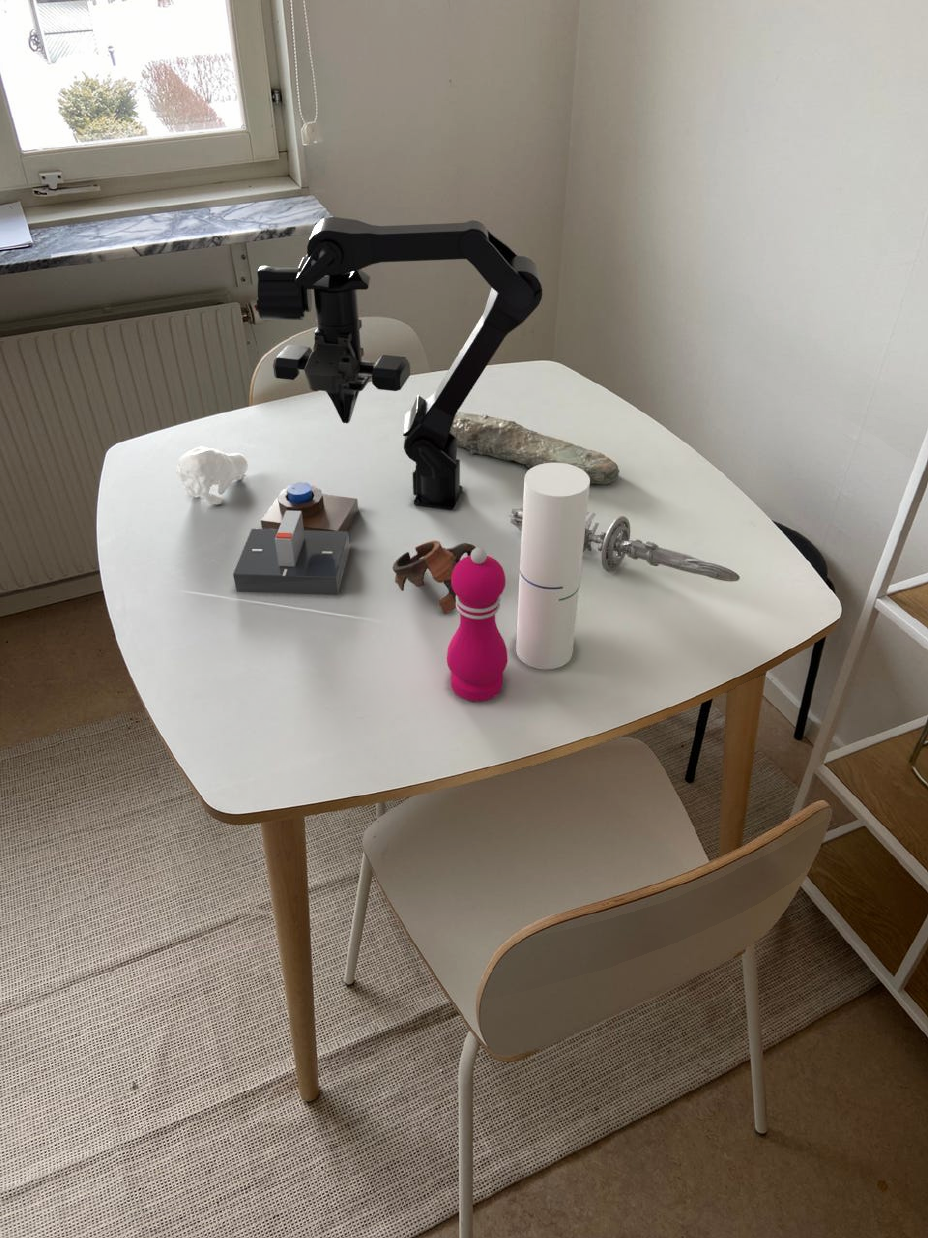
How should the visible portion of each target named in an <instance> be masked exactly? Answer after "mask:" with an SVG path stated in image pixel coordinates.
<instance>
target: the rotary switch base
mask: <svg viewBox="0 0 928 1238" xmlns="http://www.w3.org/2000/svg"><path fill="white" fill-rule="evenodd" d="M278 530H279V529H262V528H251V530H250V532H249V533H248V537H247V540H246V542H245V544H244V547H243V548H242V551H241V554H240V556H239V558H238V561H237V563H236V565H235V568H234V571H233V573H232V576H233V581H234V587H235V591H236V592H241V593H242V592H243V593H246V592H249V593H271V594H273V593H275V594H299V595H300V594H301V595H307V594H308V595H333V596H338V595H339V592H340V589H341V584H342V580H343V576H344V572H345V570H346V565H347V561H348V557H349V553H350V549H351V547H350V546H351V545H350V536H349V534H350V533H349V531H346V532H344V531H313V530H304V534H305V539H304V542H303V545H302V548H301V550H300V553H299V556H298V559H297V562H296V565H295V567H289V566H279V562H278V556H277V549H276V543H275V538H276V535H277V532H278Z"/></svg>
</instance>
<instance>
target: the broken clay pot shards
mask: <svg viewBox="0 0 928 1238" xmlns="http://www.w3.org/2000/svg"><path fill="white" fill-rule="evenodd" d="M475 548H477V547H476V546H475V545H473V544H472V543H468V542H462V543H459V544H456V545H455V546H454V547H450V548H445V547H443V546H442V544H441V542H440V541H439V540H431V541H427V542H424V543H421V544H419V545H417V546H416V547H414V549H415V552H416V554H414V555H413V556H412V557H411V555H410V552H408V551H407V552H405V553H403V554H402V555H401V556H399V558H397V559H396V561H395V562H393V564H392V570H393V572H394V573H395V577H394V582H395V584H397V585H398V588H399V589H400V591H402V592H403V591H405V584H406V581H408V582H409V583H411V584H413V585H414V586H415V587H420V588H421V587H422V588H423V587H424V586H425V581H424V579H425V576H426V575H425V574H426V572H427V570H428V571H429V573H430V574H431V577H432V579H433V580H434V581H435V582H436V583H439V584H444V586H445V587H446V588H447V590H448V593H447V594H445V595H444V596H443V597H441V598H439V599H438V600H437V604H438V605H439V607H440V609H441V610H442V613H443V614H445V615H446V614H448V613H450V612H451V611H453V610H455V609H457V608H456V594H455V593H454V590H453V588H452V584H451V577H452V572H453V570H454V568H455V566H456V564H457V563H458V562H459V561H460V560H462V557H463V556H464V554H467V556H470V555H471V552H472V550H474V549H475Z"/></svg>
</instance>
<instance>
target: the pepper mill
mask: <svg viewBox="0 0 928 1238" xmlns="http://www.w3.org/2000/svg"><path fill="white" fill-rule="evenodd" d="M451 584H452V588H453V590H454V593H455V594H456V608H455V609H456V610H457V612H458V613H459V616H460V617H459V620H460V621H459V625H458V627H457V629H456V631H455V633H454V634H453V635H452V637H451V639H450V641H449V644H448V647H447V651H446V652H447V653H446V664H447V667H448V669H449V670H450V686H451V689H452V691H453V692H454V694H456V695H457V696H458V697H459V698H461V699H463V700H466V701H469V702H478V703H479V702H485V701H489V700H491V699H493V698H494V697H496V696H498V695H499V693H500V692H501V690H502V688H503V679H504V678H503V677H504V673H503V672H504V671H505V669H506V668H507V665H508V658H509V657H508V649H507V646H506V643H505V640H504V638H503V636H502V635H501V633H500V630H499V628H498V625H497V622H496V614H497V613H498V612H499V611H500V608H501V595H502V594H503V591H504V590H505V587H506V574H505V570H504V568H503V566H502V565H501V563H500V562H499V561H498V560H497V559H495V557H492V556H489V555H488V553H487V551H486V550H485V549H484V548H483V547H476V548H475V549H474V550H472V552H471V555H470V556H468V555H467V556H465V557H463V558H461V559H460V561H459V562H458V563H457V564H456V566H455V568H454V570H453V572H452V577H451Z"/></svg>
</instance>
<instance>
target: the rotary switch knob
mask: <svg viewBox="0 0 928 1238" xmlns="http://www.w3.org/2000/svg"><path fill="white" fill-rule="evenodd" d="M304 539H305V534H304V526H303V519H302V511H287V510H286V512H285V514H284V517H283V520H282V522H281V525H280V527H279V530H278V532H277V535H276V538H275V543H276V549H277V556H278V562H279V566H289V567H295V565H296V562H297V559H298V556H299V553H300V550H301V548H302V545H303V542H304Z"/></svg>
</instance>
